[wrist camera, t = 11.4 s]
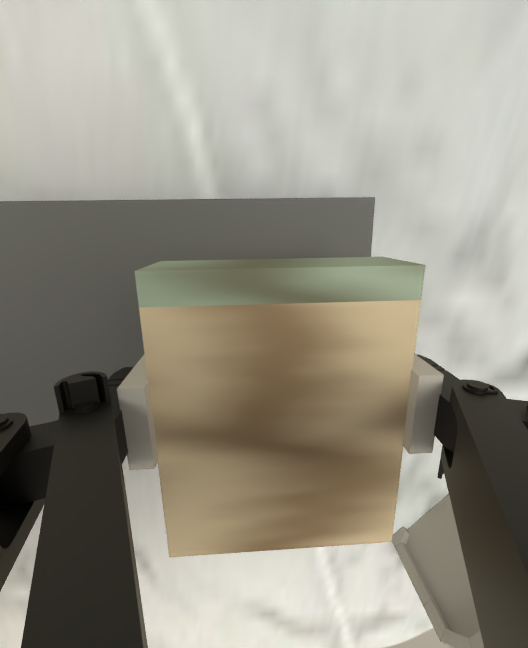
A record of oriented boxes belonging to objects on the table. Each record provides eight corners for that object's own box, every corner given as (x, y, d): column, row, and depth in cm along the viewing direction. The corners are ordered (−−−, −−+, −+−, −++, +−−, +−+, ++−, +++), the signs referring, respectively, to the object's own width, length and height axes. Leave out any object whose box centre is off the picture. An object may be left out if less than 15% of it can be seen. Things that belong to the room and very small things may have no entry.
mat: (-30, 446, 20) (-38, 452, 19) (-106, 203, 16) (-119, 202, 16) (354, 425, 22) (357, 430, 21) (370, 198, 18) (375, 197, 17)
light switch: (389, 536, 25) (454, 671, 17) (514, 428, 23) (650, 527, 15) (404, 547, 25) (474, 683, 17) (528, 441, 23) (667, 544, 15)
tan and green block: (362, 481, 15) (381, 256, 12) (391, 541, 12) (425, 265, 9) (184, 491, 14) (161, 261, 12) (169, 557, 11) (134, 270, 9)
